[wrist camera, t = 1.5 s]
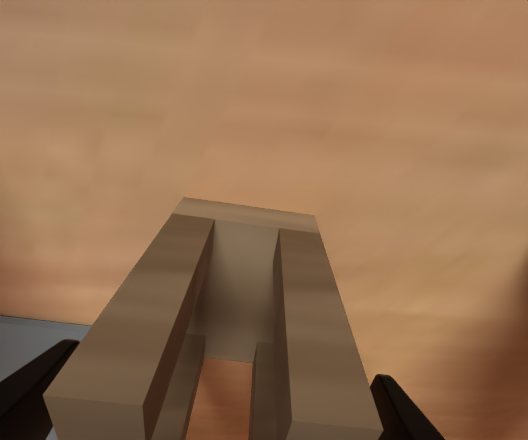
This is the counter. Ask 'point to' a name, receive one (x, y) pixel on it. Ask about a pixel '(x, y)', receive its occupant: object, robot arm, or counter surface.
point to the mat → (32, 343)
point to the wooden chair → (220, 334)
